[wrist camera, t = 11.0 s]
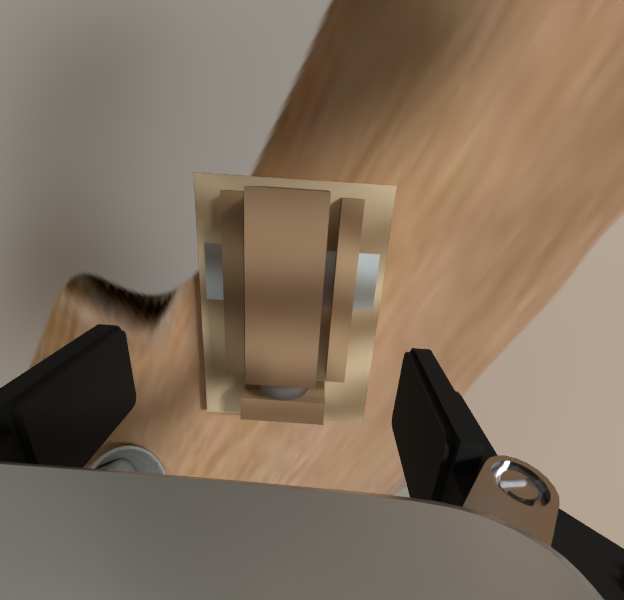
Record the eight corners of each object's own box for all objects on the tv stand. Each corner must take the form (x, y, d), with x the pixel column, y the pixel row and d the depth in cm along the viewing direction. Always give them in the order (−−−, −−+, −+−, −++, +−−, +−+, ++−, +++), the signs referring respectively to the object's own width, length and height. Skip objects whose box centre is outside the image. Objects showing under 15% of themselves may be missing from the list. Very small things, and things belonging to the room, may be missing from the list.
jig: (199, 172, 23) (174, 170, 19) (393, 185, 23) (407, 186, 19) (211, 402, 30) (194, 435, 26) (361, 413, 30) (367, 447, 26)
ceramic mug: (74, 470, 33) (8, 550, 26) (121, 428, 31) (62, 503, 24) (156, 523, 36) (116, 609, 29) (203, 488, 34) (173, 571, 27)
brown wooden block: (263, 186, 22) (243, 186, 17) (328, 190, 22) (330, 191, 17) (261, 362, 27) (245, 409, 21) (314, 366, 27) (313, 414, 21)
